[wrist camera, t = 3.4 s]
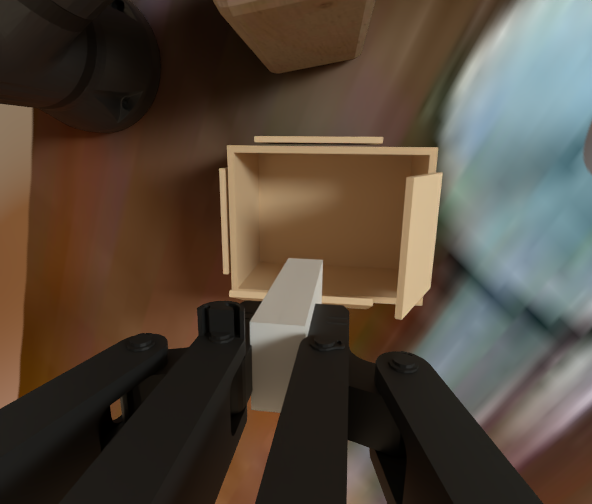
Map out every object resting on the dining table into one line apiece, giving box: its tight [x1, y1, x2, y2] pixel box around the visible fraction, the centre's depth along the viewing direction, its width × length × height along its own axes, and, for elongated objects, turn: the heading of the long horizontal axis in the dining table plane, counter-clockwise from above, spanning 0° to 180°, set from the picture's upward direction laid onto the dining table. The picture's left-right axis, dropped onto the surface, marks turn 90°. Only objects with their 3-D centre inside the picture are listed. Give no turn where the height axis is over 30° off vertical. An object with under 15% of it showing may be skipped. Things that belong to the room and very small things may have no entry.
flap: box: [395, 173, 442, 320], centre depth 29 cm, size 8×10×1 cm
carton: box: [219, 136, 438, 306], centre depth 39 cm, size 19×15×10 cm
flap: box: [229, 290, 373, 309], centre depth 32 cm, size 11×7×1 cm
